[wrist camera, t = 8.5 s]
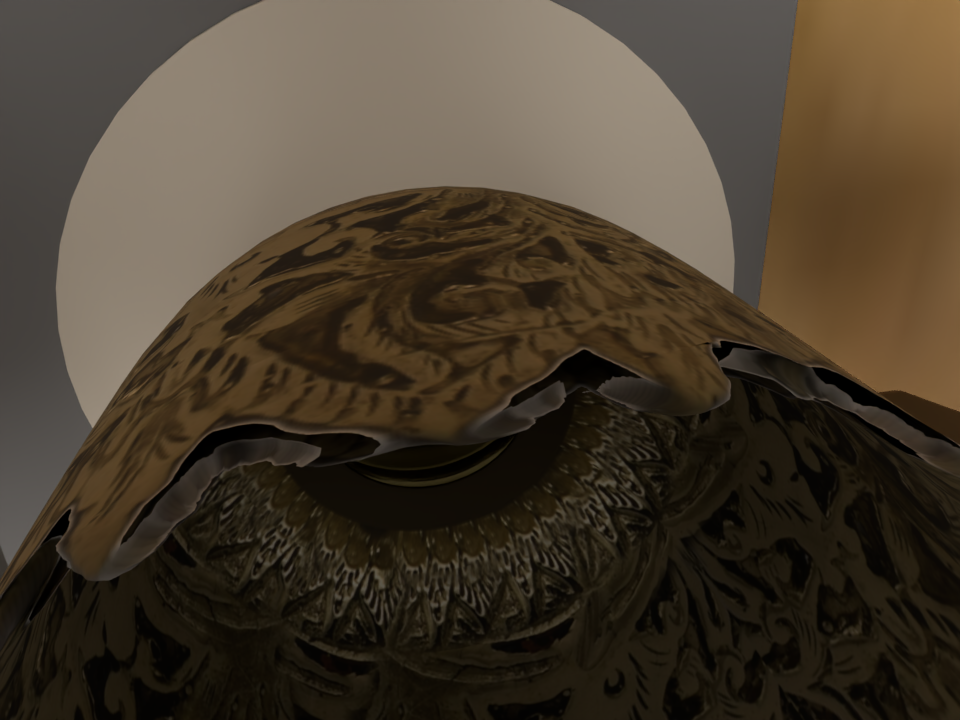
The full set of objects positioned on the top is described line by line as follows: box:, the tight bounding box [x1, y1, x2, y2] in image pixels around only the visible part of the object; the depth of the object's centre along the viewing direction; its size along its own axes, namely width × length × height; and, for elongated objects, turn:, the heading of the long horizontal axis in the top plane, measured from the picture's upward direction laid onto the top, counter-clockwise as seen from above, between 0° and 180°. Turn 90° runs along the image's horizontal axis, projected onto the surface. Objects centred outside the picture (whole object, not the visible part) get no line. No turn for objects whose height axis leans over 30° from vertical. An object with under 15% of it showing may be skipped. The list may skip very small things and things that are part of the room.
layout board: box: [0, 0, 798, 566], centre depth 12 cm, size 20×10×2 cm, turn 92°
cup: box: [0, 186, 960, 720], centre depth 9 cm, size 7×7×8 cm
